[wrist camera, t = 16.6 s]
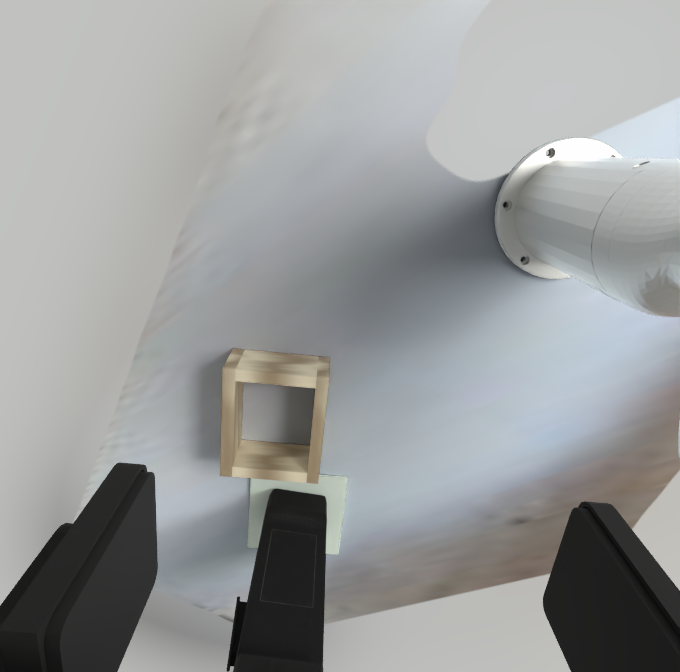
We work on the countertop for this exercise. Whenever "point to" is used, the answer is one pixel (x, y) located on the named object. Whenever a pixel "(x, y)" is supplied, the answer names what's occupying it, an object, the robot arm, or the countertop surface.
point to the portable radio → (285, 590)
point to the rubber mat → (327, 486)
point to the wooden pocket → (271, 456)
